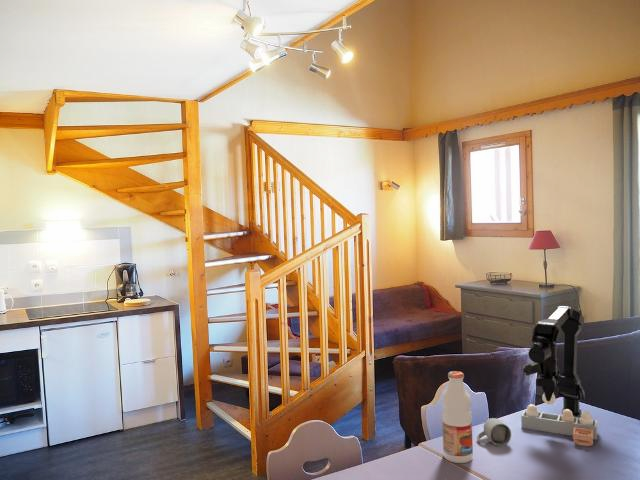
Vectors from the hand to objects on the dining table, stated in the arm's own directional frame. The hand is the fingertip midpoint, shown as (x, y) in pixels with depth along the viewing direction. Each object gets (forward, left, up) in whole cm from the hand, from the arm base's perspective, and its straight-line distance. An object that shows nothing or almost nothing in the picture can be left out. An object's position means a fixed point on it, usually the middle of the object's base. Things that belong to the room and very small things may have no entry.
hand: (549, 398), depth 190 cm
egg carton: (-2, +3, -12) cm, 12 cm away
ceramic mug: (+19, -16, -12) cm, 27 cm away
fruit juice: (+36, -24, -12) cm, 45 cm away
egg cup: (+6, +11, -12) cm, 17 cm away
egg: (0, 0, -2) cm, 2 cm away
